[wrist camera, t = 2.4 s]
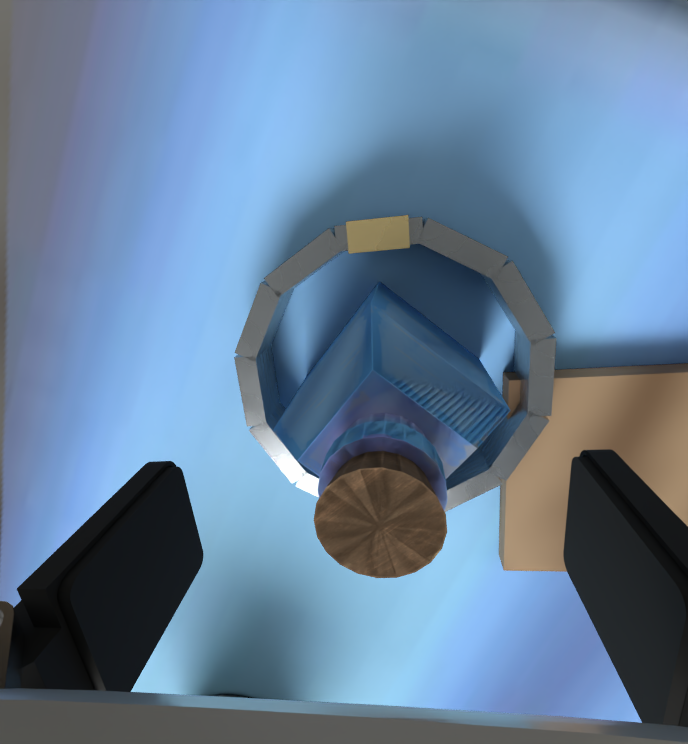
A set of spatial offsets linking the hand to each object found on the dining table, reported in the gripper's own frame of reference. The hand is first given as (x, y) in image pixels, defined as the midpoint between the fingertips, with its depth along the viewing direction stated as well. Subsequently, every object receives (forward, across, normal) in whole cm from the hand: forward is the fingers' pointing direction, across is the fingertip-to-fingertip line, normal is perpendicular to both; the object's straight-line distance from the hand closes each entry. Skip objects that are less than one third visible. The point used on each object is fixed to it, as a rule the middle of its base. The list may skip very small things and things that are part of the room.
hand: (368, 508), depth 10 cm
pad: (+12, -11, +6) cm, 17 cm away
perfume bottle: (+12, 0, 0) cm, 12 cm away
